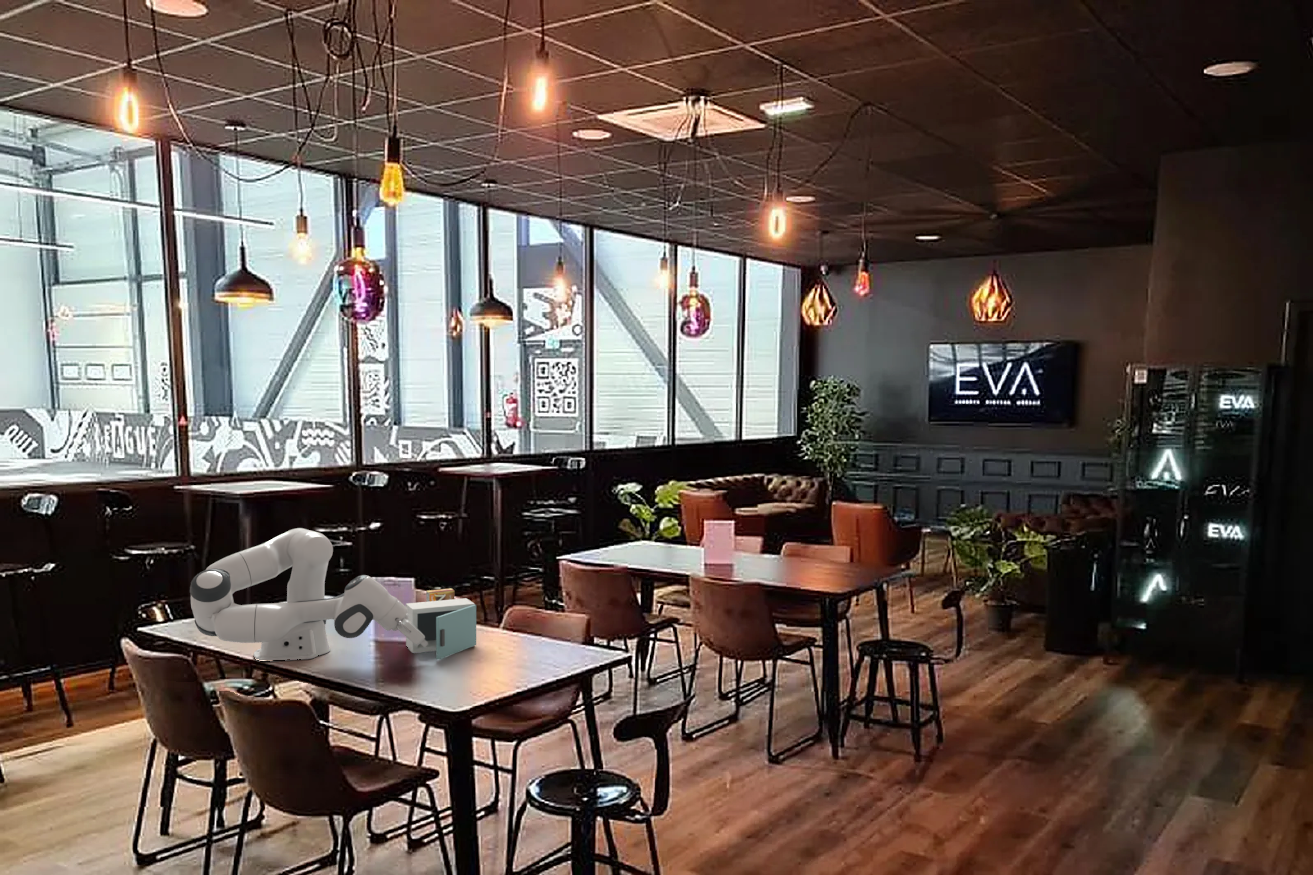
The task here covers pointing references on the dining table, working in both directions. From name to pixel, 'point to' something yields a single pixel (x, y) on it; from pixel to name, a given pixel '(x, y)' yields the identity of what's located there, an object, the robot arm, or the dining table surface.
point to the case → (430, 619)
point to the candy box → (439, 595)
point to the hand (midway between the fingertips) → (425, 644)
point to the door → (455, 631)
